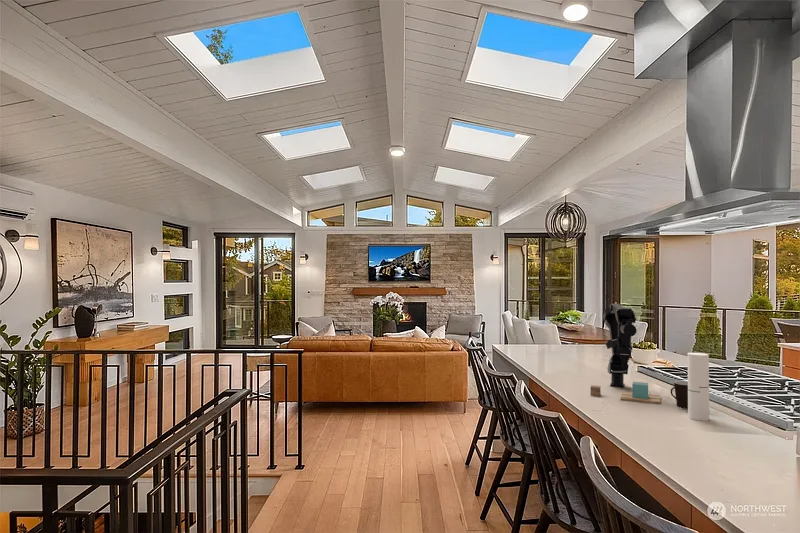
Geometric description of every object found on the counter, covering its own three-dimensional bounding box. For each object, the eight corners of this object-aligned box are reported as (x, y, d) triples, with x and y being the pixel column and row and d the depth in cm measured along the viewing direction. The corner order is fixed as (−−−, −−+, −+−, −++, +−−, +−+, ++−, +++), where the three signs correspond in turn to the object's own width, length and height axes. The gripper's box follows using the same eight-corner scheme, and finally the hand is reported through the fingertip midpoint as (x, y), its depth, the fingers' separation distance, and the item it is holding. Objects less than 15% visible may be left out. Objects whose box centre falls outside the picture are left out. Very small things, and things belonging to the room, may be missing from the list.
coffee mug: (691, 404, 222) (691, 381, 222) (701, 409, 213) (700, 385, 213) (663, 403, 223) (663, 380, 223) (671, 408, 214) (671, 384, 214)
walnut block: (591, 393, 242) (591, 385, 242) (600, 394, 241) (600, 385, 241) (590, 395, 239) (590, 386, 239) (599, 396, 237) (599, 387, 237)
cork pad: (622, 393, 242) (622, 391, 242) (660, 397, 235) (660, 395, 235) (620, 400, 229) (620, 398, 229) (660, 404, 222) (660, 402, 222)
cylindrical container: (712, 421, 196) (711, 355, 197) (691, 420, 198) (691, 355, 198) (705, 416, 203) (704, 352, 204) (685, 415, 205) (684, 352, 205)
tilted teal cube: (632, 394, 236) (632, 381, 237) (648, 396, 234) (648, 382, 234) (632, 397, 231) (632, 384, 231) (648, 399, 228) (648, 385, 228)
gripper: (607, 331, 257) (608, 362, 257) (604, 335, 241) (604, 368, 240) (632, 332, 253) (632, 364, 252) (630, 336, 236) (631, 370, 236)
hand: (624, 366), depth 245 cm, fingers open, 9 cm apart
